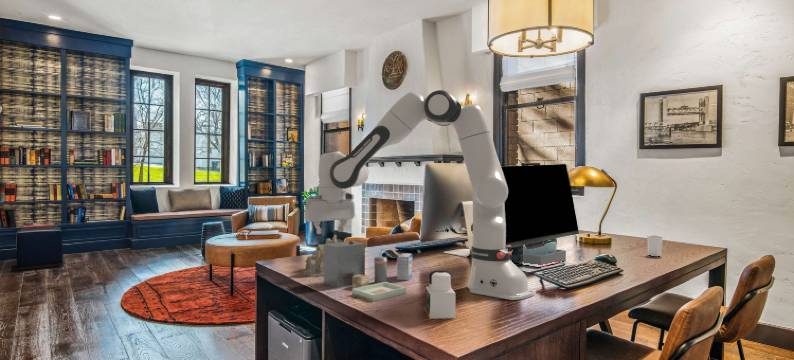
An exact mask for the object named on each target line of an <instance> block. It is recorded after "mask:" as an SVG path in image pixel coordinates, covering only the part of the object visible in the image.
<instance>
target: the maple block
mask: <svg viewBox="0 0 794 360" xmlns="http://www.w3.org/2000/svg"><path fill="white" fill-rule="evenodd" d="M368 285H370V275H367V274H365V275H362V274H359V275H355V276H353V285H351V286H352V287H351V288H352V289H354V288H358V287H363V286H368Z"/></svg>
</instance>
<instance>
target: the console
mask: <svg viewBox="0 0 794 360" xmlns="http://www.w3.org/2000/svg"><path fill="white" fill-rule="evenodd" d="M359 274H362V275H366V243H363V242H358V241H353V240H349V241H341V242H337V243H331V244H326V243H325V244H324V276H323V285H326V286H329V287H331V288H336V289H341V288H344V287H345V288H347V287H351V286H353V276H355V275H359Z"/></svg>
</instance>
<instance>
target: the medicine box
mask: <svg viewBox="0 0 794 360" xmlns="http://www.w3.org/2000/svg"><path fill="white" fill-rule="evenodd" d="M412 276H413V254H412V253H405V252H404V253H400V254H399V255H398V256H397V258H396V279H397V280H398V281H410V280H411V278H412Z"/></svg>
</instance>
